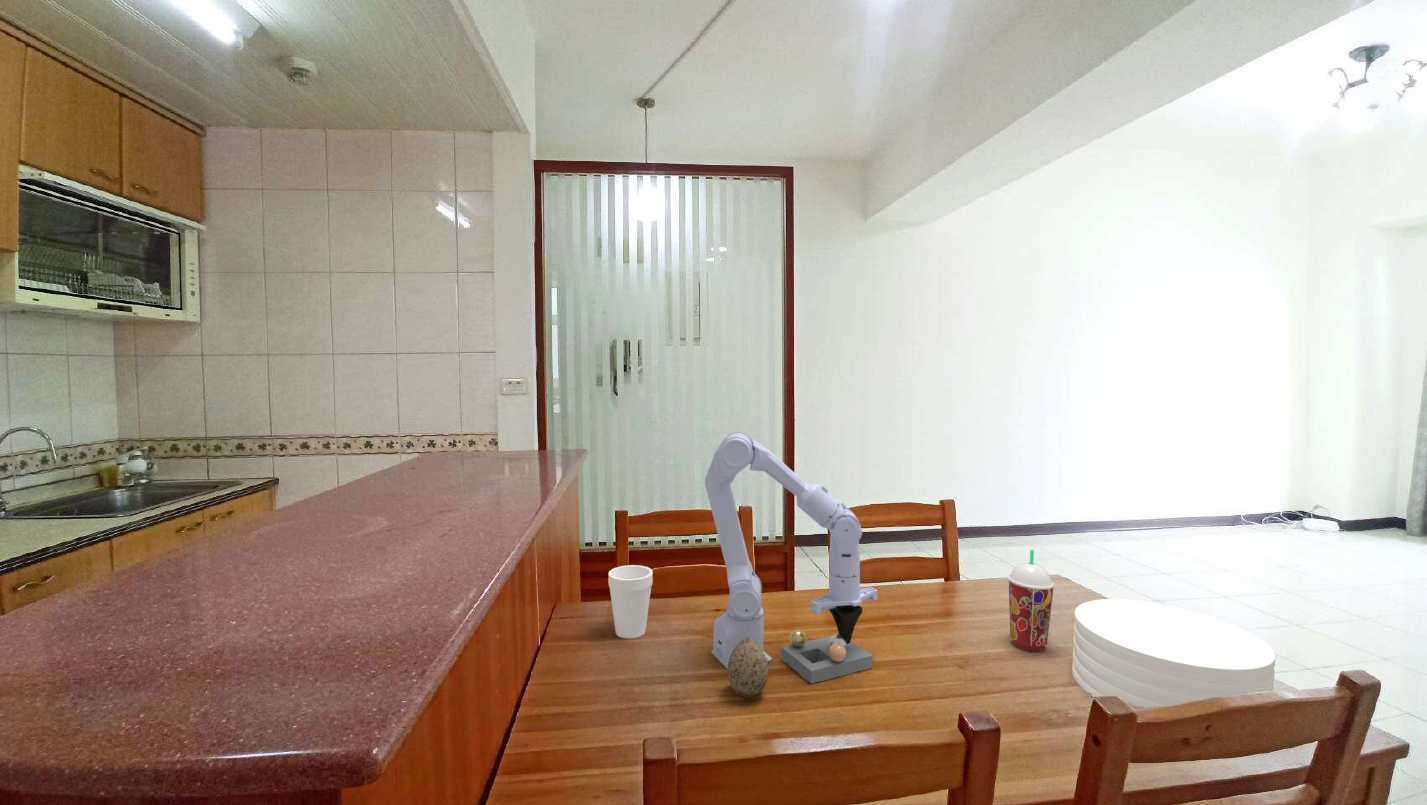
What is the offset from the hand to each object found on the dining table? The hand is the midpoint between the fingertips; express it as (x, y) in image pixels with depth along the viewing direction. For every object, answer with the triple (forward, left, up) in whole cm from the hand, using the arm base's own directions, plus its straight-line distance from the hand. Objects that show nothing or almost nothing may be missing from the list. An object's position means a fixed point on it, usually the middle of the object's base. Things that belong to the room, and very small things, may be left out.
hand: (845, 641), depth 115 cm
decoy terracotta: (-4, -3, 0) cm, 5 cm away
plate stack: (+45, -32, -4) cm, 56 cm away
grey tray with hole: (-4, +1, -4) cm, 6 cm away
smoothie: (+39, -10, -4) cm, 41 cm away
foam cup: (-34, +30, -4) cm, 45 cm away
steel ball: (-2, 0, 0) cm, 2 cm away
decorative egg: (-23, -2, -4) cm, 23 cm away
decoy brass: (-8, +5, 0) cm, 9 cm away
